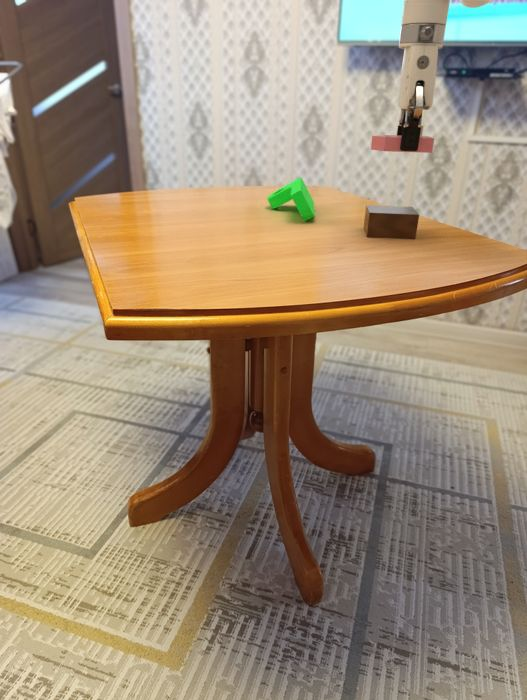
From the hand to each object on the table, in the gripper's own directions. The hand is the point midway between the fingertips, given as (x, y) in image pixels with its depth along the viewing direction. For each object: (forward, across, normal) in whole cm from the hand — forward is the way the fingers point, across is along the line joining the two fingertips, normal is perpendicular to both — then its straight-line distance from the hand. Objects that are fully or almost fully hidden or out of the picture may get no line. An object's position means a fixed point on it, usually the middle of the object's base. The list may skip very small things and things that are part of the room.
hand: (406, 148), depth 97 cm
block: (+17, +4, 0) cm, 18 cm away
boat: (0, 0, +1) cm, 1 cm away
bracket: (+18, +19, +22) cm, 34 cm away
